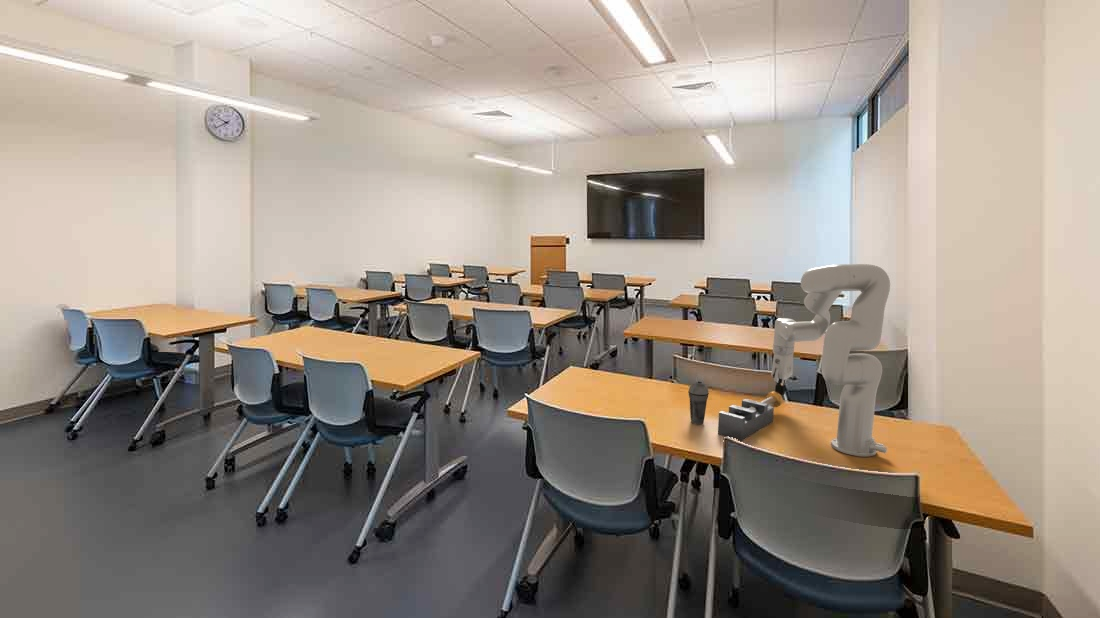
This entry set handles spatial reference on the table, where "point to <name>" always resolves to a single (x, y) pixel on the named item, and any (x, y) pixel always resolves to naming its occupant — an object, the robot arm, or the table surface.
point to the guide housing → (744, 419)
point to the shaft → (770, 401)
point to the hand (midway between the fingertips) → (779, 394)
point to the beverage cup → (698, 401)
